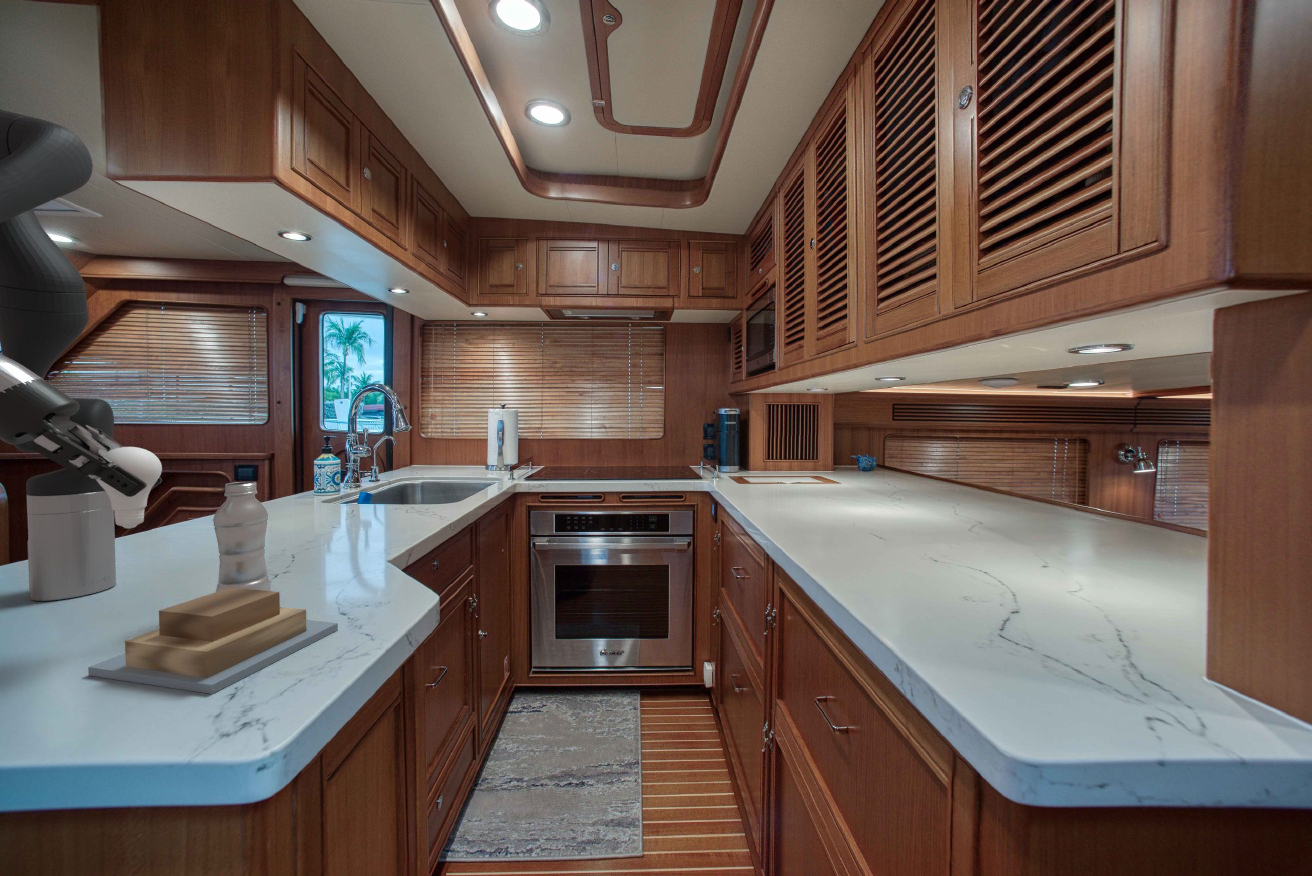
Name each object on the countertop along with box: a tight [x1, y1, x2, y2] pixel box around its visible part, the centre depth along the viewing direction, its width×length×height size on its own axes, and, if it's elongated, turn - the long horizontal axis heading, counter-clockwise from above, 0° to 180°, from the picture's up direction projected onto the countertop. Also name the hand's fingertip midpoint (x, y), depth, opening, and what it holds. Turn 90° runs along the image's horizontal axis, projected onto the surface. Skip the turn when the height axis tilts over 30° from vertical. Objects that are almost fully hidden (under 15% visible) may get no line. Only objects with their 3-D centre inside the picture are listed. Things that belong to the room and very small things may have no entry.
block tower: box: [124, 587, 307, 678], centre depth 59 cm, size 12×12×6 cm
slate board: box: [87, 619, 339, 695], centre depth 61 cm, size 18×16×1 cm
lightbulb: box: [96, 446, 163, 529], centre depth 63 cm, size 6×6×11 cm
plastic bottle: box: [212, 481, 272, 592], centre depth 73 cm, size 6×7×20 cm
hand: (147, 488), depth 64 cm, fingers closed on lightbulb, 5 cm apart
